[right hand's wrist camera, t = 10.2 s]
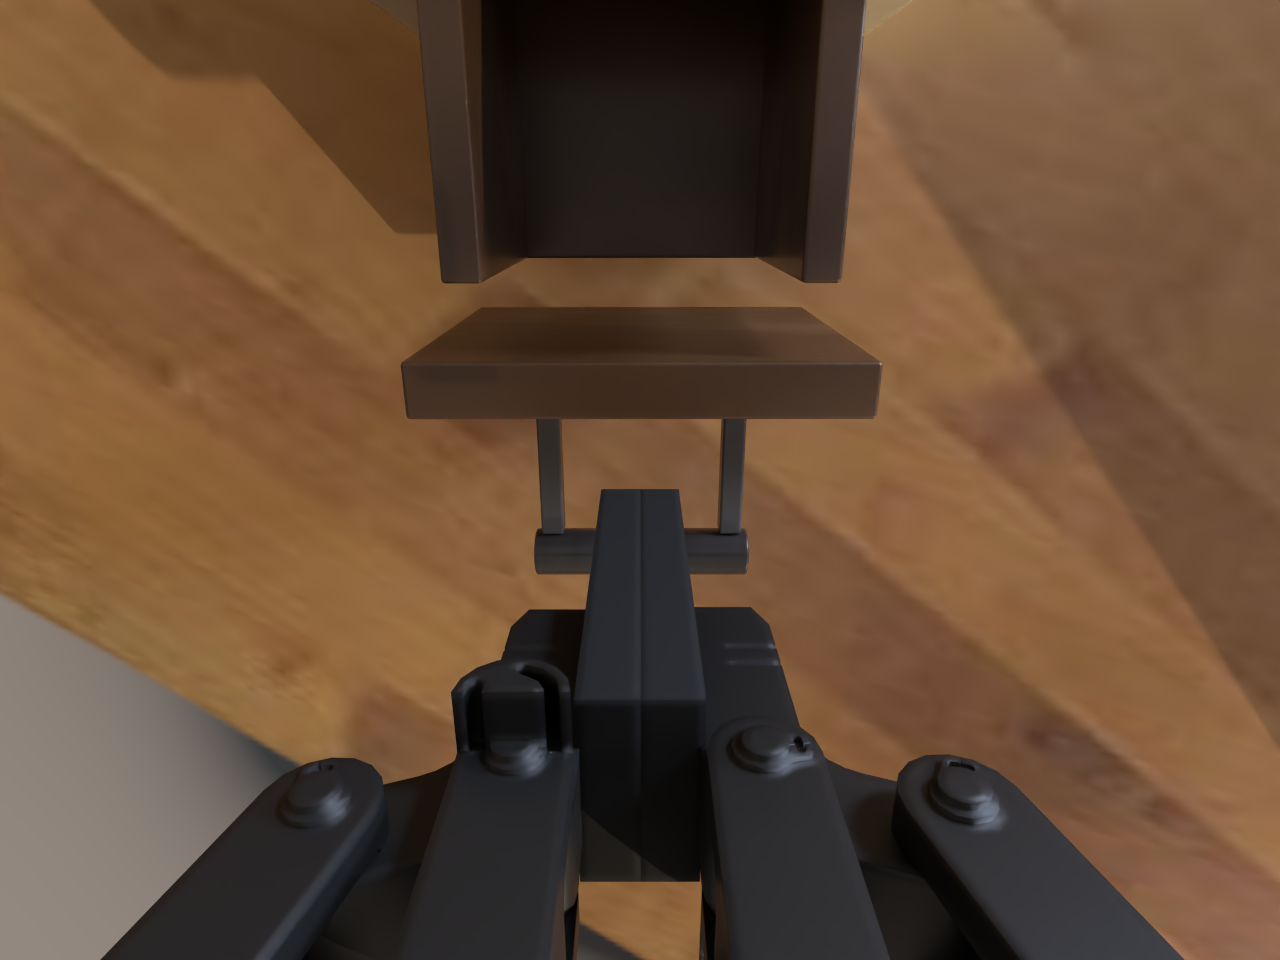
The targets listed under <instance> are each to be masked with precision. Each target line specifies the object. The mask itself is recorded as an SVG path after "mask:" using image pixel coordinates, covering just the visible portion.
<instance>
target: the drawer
mask: <svg viewBox="0 0 1280 960" xmlns="http://www.w3.org/2000/svg"><path fill="white" fill-rule="evenodd" d="M866 3H867V0H416V4H417V15H418V26H419V37H420V48H421V59H422V71H423V82H424V93H425V104H426V115H427V126H428V137H429V148H430V159H431V170H432V181H433V192H434V204H435V215H436V226H437V237H438V248H439V259H440V270H441V280H442V282H443V283H481V282H483V281H484V280H486V279H488V278H490V277H492V276H494V275H496V274H498V273H499V272H501V271H503V270H505V269H507V268H509V267H511V266H512V265H514V264H516V263H518V262H520V261H522V260H524V259H525V258H758V259H760V260H762V261H764V262H766V263H768V264H770V265H772V266H774V267H775V268H777V269H779V270H781V271H783V272H785V273H787V274H789V275H791V276H793V277H795V278H797V279H798V280H800V281H802V282H805V283H838V282H840V280H841V278H842V269H843V258H844V247H845V236H846V225H847V214H848V203H849V191H850V180H851V169H852V158H853V147H854V136H855V125H856V114H857V103H858V92H859V81H860V69H861V58H862V47H863V36H864V25H865V14H866ZM401 371H402V380H403V389H404V397H405V406H406V415H407V417H408V418H409V419H536V421H537V441H538V461H539V481H540V500H541V520H542V528H539V529H537V532H536V535H535V546H534V561H535V569H536V572H537V574H590V572H591V565H592V557H593V549H594V542H595V534H596V528H565V502H564V476H563V451H562V425H561V419H722V420H721V446H720V472H719V498H718V524H717V525H718V528H684V534H685V542H686V549H687V557H688V565H689V572H690V574H746V572H747V569H748V557H749V549H748V537H747V532H746V530H745V529H744V528H741V515H742V495H743V476H744V456H745V436H746V419H873V418H876V416H877V409H878V400H879V391H880V383H881V374H882V362H880V361H879V360H877V359H876V358H874V357H873V356H871V355H870V354H868V353H867V352H866V351H864V350H863V349H861V348H860V347H858V346H857V345H855V344H854V343H852V342H851V341H850V340H848V339H847V338H845V337H844V336H842V335H841V334H839V333H838V332H836V331H835V330H834V329H832V328H831V327H829V326H828V325H826V324H825V323H823V322H822V321H820V320H819V319H818V318H816V317H815V316H813V315H812V314H810V313H809V312H807V311H806V310H804V309H803V308H801V307H482V308H480V309H478V310H477V311H476V312H474V313H473V314H471V315H470V316H468V317H467V318H465V319H464V320H463V321H461V322H460V323H458V324H457V325H455V326H454V327H453V328H451V329H450V330H448V331H447V332H445V333H444V334H442V335H441V336H440V337H438V338H437V339H435V340H434V341H432V342H431V343H429V344H428V345H427V346H425V347H424V348H422V349H421V350H419V351H418V352H417V353H415V354H414V355H412V356H411V357H409V358H408V359H406V360H405V361H404V362H402V364H401Z"/></svg>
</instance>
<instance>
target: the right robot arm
mask: <svg viewBox="0 0 1280 960" xmlns="http://www.w3.org/2000/svg"><path fill="white" fill-rule="evenodd" d="M451 696H452V706H453V715H454V725H455V734H456V744H457V756H456V759H455V761H453V762H452V763H450V764H448V765H446V766H444V767H442V768H440V769H438V770H436V771H434V772H430V773H427V774H424V775H421V776H418V777H414V778H410V779H405V780H401V781H397V782H393V783H388V784H384V785H383V780H382V777H381V775H380V774H379V773H378V772H377V771H376V769H375V768H374V767H373V766H372V765H370V764H368V763H365V762H363V761H360V760H357V759H355V758H329V759H324V760H320V761H315V762H311V763H307V764H305V765H303V766H301V767H298V768H296V769H294V770H292V771H290V772H288V773H286V774H284V775H282V776H281V777H280V778H279V779H277V780H276V781H275V782H274V783H272V784H271V785H270V786H269V787H267V788H266V789H265V790H264V791H263V792H262V793H261V794H260V795H259V796H258V797H257V798H256V799H255V800H254V801H253V802H252V803H251V804H250V805H249V806H248V807H247V808H246V809H245V811H243V813H241V815H240V816H239V817H238V818H237V819H236V820H235V821H234V822H233V823H232V824H231V825H230V826H229V827H228V828H227V829H226V830H225V831H224V832H223V833H222V834H221V835H220V836H219V837H218V838H217V839H216V840H215V842H214V843H213V844H212V845H211V846H210V847H209V848H208V849H207V850H206V851H205V852H204V853H203V854H202V855H201V856H200V857H199V858H198V859H197V860H196V861H195V862H194V863H193V864H192V865H191V866H190V867H189V868H188V870H187V871H186V872H185V873H184V874H183V875H182V876H181V877H180V878H179V879H178V880H177V881H176V882H175V883H174V884H173V885H172V886H171V887H170V888H169V889H168V890H167V891H166V892H165V893H164V894H163V895H162V896H161V898H160V899H159V900H158V901H157V902H156V903H155V904H154V905H153V906H152V907H151V908H150V909H149V910H148V911H147V912H146V913H145V914H144V915H143V916H142V917H141V918H140V919H139V920H138V921H137V922H136V923H135V925H134V926H133V927H132V928H131V929H130V930H129V931H128V932H127V933H126V934H125V935H124V936H123V937H122V938H121V939H120V940H119V941H118V942H117V943H116V944H115V945H114V946H113V947H112V948H111V949H110V950H109V952H107V954H106V955H105V956H104V957H103V958H102V959H101V960H576V957H577V945H578V932H579V899H578V886H579V875H580V882H700V871H701V882H702V899H701V925H700V952H699V960H1184V959H1183V958H1182V957H1181V956H1180V955H1179V954H1178V953H1177V952H1176V951H1175V949H1174V948H1173V947H1172V946H1171V945H1170V944H1169V943H1168V942H1167V941H1166V940H1165V939H1164V938H1163V937H1162V936H1161V935H1160V934H1159V933H1158V932H1157V931H1156V930H1155V929H1154V928H1153V927H1152V926H1151V925H1150V924H1149V923H1148V922H1147V921H1146V920H1145V919H1144V918H1143V917H1142V915H1141V914H1140V913H1139V912H1138V911H1137V910H1136V909H1135V908H1134V907H1133V906H1132V905H1131V904H1130V903H1129V902H1128V901H1127V900H1126V899H1125V898H1124V897H1123V896H1122V895H1121V894H1120V893H1119V892H1118V891H1117V890H1116V889H1115V888H1114V887H1113V886H1112V885H1111V884H1110V883H1109V881H1108V880H1107V879H1106V878H1105V877H1104V876H1103V875H1102V874H1101V873H1100V872H1099V871H1098V870H1097V869H1096V868H1095V867H1094V866H1093V865H1092V864H1091V863H1090V862H1089V861H1088V860H1087V859H1086V858H1085V857H1084V856H1083V855H1082V854H1081V853H1080V852H1079V851H1078V850H1077V848H1076V847H1075V846H1074V845H1073V844H1072V843H1071V842H1070V841H1069V840H1068V839H1067V838H1066V837H1065V836H1064V835H1063V834H1062V833H1061V832H1060V831H1059V830H1058V829H1057V828H1056V827H1055V826H1054V825H1053V824H1052V823H1051V822H1050V821H1049V820H1048V819H1047V818H1046V817H1045V816H1044V814H1043V813H1042V812H1041V811H1040V810H1039V809H1038V808H1037V807H1036V806H1035V805H1034V804H1033V803H1032V802H1031V801H1030V800H1029V799H1028V798H1027V797H1026V796H1025V795H1024V794H1023V793H1022V792H1021V791H1020V790H1019V789H1018V788H1017V787H1016V786H1015V785H1014V784H1012V783H1011V782H1010V781H1009V780H1007V779H1006V778H1005V777H1004V776H1002V775H1001V774H1000V773H998V772H997V771H995V770H993V769H991V768H989V767H987V766H985V765H983V764H980V763H978V762H976V761H974V760H970V759H966V758H961V757H957V756H952V755H925V756H923V757H920V758H918V759H915V760H912V761H910V762H908V763H907V764H906V766H905V767H904V768H903V769H902V770H901V772H900V773H899V774H898V780H897V782H896V781H892V780H888V779H883V778H879V777H875V776H871V775H866V774H862V773H859V772H856V771H853V770H850V769H847V768H844V767H842V766H840V765H838V764H836V763H834V762H832V761H830V760H828V759H827V758H825V757H824V755H823V752H822V750H821V748H820V747H819V745H818V744H817V742H816V740H815V739H814V737H813V736H811V735H810V734H809V733H807V732H806V731H805V730H803V729H802V728H801V727H800V725H799V722H798V719H797V715H796V712H795V709H794V705H793V702H792V699H791V695H790V692H789V689H788V686H787V682H786V679H785V676H784V672H783V669H782V666H781V665H780V659H779V656H778V652H777V649H775V643H774V639H773V636H772V633H771V629H770V626H769V624H768V623H767V622H766V621H765V620H764V619H763V618H762V617H761V616H759V615H758V614H757V613H756V612H755V611H754V610H753V609H752V608H751V607H694V602H693V595H692V587H691V580H690V572H689V565H688V557H687V549H686V542H685V534H684V527H683V519H682V512H681V504H680V496H679V489H601V496H600V504H599V512H598V519H597V527H596V534H595V542H594V549H593V557H592V565H591V572H590V580H589V587H588V595H587V602H586V610H528V611H527V612H526V613H525V614H524V615H523V616H522V617H521V618H520V619H519V620H518V621H517V622H516V623H515V624H514V625H513V626H512V627H511V629H510V632H509V636H508V639H507V642H506V646H505V651H504V652H503V656H502V659H501V660H498V661H495V662H492V663H489V664H486V665H483V666H480V667H477V668H476V669H474V670H473V671H471V672H470V673H468V674H467V675H465V676H464V677H462V678H461V679H460V680H459V682H458V683H457V685H456V686H455V687H454V689H453V690H452V692H451Z"/></svg>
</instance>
